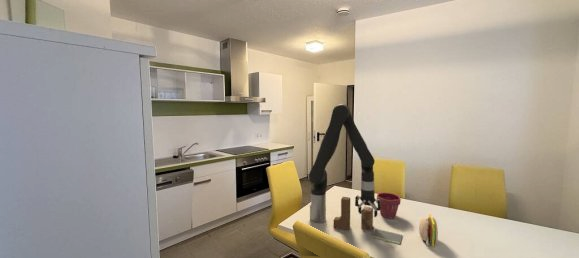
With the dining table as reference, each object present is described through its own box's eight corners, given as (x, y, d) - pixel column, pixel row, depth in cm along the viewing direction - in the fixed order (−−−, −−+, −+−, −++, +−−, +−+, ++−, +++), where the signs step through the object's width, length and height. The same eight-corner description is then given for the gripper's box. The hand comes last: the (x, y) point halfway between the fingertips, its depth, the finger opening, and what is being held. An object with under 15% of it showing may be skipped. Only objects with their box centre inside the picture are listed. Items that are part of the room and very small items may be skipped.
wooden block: (333, 227, 143) (333, 197, 141) (335, 223, 147) (335, 195, 145) (348, 230, 139) (348, 200, 137) (350, 226, 143) (350, 197, 141)
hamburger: (417, 233, 135) (418, 212, 134) (434, 235, 131) (435, 214, 130) (420, 244, 124) (420, 221, 122) (439, 247, 120) (439, 224, 119)
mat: (371, 237, 131) (371, 236, 131) (375, 229, 139) (375, 228, 139) (400, 244, 123) (400, 243, 123) (402, 235, 132) (402, 234, 132)
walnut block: (361, 228, 140) (361, 210, 139) (364, 223, 146) (364, 206, 145) (370, 231, 138) (370, 212, 137) (372, 225, 144) (373, 208, 143)
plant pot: (395, 210, 164) (396, 192, 162) (403, 220, 150) (404, 200, 148) (374, 210, 165) (374, 192, 164) (379, 219, 151) (380, 200, 150)
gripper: (353, 188, 140) (353, 215, 141) (379, 191, 133) (379, 220, 134) (357, 184, 146) (357, 210, 148) (381, 187, 139) (381, 215, 140)
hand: (367, 215), depth 141 cm, fingers open, 8 cm apart
